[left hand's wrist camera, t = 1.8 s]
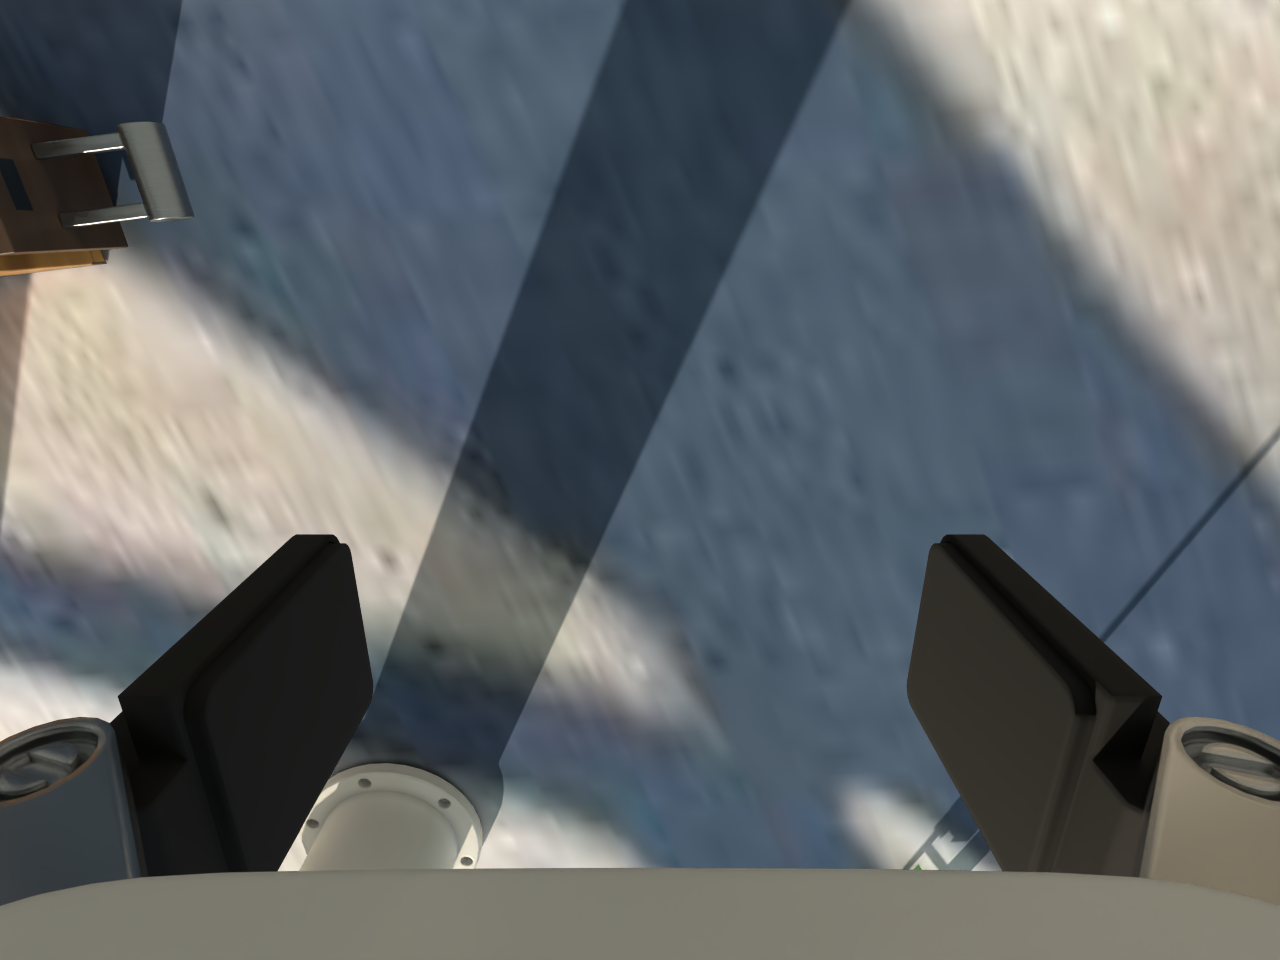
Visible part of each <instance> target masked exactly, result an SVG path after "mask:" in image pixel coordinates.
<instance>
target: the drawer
mask: <svg viewBox="0 0 1280 960" xmlns="http://www.w3.org/2000/svg"><path fill="white" fill-rule="evenodd" d="M117 129H118V131H119V132H116V133H109V134H101V135H94V136H88V134H87V132H86V130H81V129H75V128H69V127H62V126H56V125H50V124H44V123H38V122H32V121H25V120H19V119H13V118H7V117H1V116H0V256H5V255H23V254H40V253H58V252H76V251H94V250H109V249H117V248H125V247H128V244H127V241H126V239H125V236H124V233H123V230H122V228H121V225H120V222H121V221H129V220H137V219H145V218H149V220H150V221H151V222H162V221H175V220H184V219H191V218H194V217H195V216H194V213H193V210H192V207H191V204H190V201H189V198H188V195H187V192H186V188H185V185H184V182H183V179H182V176H181V173H180V170H179V167H178V164H177V161H176V158H175V155H174V152H173V149H172V146H171V142H170V139H169V136H168V133H167V130H166V127H165V125H164V124H163V123H159V122H150V121H138V122H126V123H121V124H119V125H117ZM118 150H125V151H126V154H127V157H128V160H129V163H130V166H131V169H132V172H133V174H134V177H135V180H136V183H137V186H138V189H139V192H140V194H141V197H142V200H143V203H137V204H129V205H121V206H113V203H112V200H111V197H110V195H109V192H108V189H107V186H106V184H105V181H104V178H103V175H102V173H101V170H100V167H99V164H98V162H97V159H96V156H95V153H103V152H110V151H118Z"/></svg>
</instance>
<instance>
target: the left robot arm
mask: <svg viewBox="0 0 1280 960" xmlns="http://www.w3.org/2000/svg"><path fill="white" fill-rule="evenodd" d="M372 694H373V679H372V673H371V667H370V662H369V656H368V650H367V644H366V638H365V632H364V626H363V620H362V614H361V609H360V603H359V597H358V591H357V585H356V579H355V573H354V567H353V562H352V556H351V551H350V548H349V546H348V545H347V544H346V543H340V542H339V540H338V539H337V537H336V536H334V535H295V536H293V537H292V538H291V539H289V540H288V541H287V542H286V543H285V544H284V545H283V546H282V547H281V548H280V549H278V550H277V551H276V552H275V553H274V554H273V555H272V556H271V557H270V558H269V559H268V560H266V561H265V562H264V563H263V564H262V565H261V566H260V567H259V568H258V569H257V570H255V571H254V572H253V573H252V574H251V575H250V576H249V577H248V578H247V579H246V580H245V581H243V582H242V583H241V584H240V585H239V586H238V587H237V588H236V589H235V590H234V591H232V592H231V593H230V594H229V595H228V596H227V597H226V598H225V599H224V600H223V601H222V602H220V603H219V604H218V605H217V606H216V607H215V608H214V609H213V610H212V611H211V612H210V613H208V614H207V615H206V616H205V617H204V618H203V619H202V620H201V621H200V622H199V623H197V624H196V625H195V626H194V627H193V628H192V629H191V630H190V631H189V632H188V633H187V634H185V635H184V636H183V637H182V638H181V639H180V640H179V641H178V642H177V643H176V644H174V645H173V646H172V647H171V648H170V649H169V650H168V651H167V652H166V653H165V654H164V655H162V656H161V657H160V658H159V659H158V660H157V661H156V662H155V663H154V664H153V665H152V666H150V667H149V668H148V669H147V670H146V671H145V672H144V673H143V674H142V675H141V676H139V677H138V678H137V679H136V680H135V681H134V682H133V683H132V684H131V685H130V686H129V687H127V688H126V689H125V690H124V691H123V692H122V693H121V694H120V695H119V696H118V699H119V702H120V705H121V708H122V712H121V713H120V714H119V715H118V716H117V717H116V718H115V719H114V720H113V721H112V722H111V723H108V722H106V721H103V720H101V719H99V718H88V717H76V718H69V719H62V720H56V721H53V722H49V723H46V724H42V725H38V726H35V727H32V728H30V729H27V730H25V731H22V732H20V733H18V734H15V735H13V736H10V737H8V738H6V739H4V740H3V741H1V742H0V960H1280V742H1279V741H1277V740H1276V739H1274V738H1272V737H1270V736H1267V735H1265V734H1262V733H1260V732H1258V731H1255V730H1253V729H1250V728H1248V727H1245V726H1242V725H1238V724H1234V723H1231V722H1227V721H1224V720H1218V719H1211V718H1204V717H1192V718H1181V719H1179V720H1177V721H1174V722H1172V723H1169V722H1168V721H1167V720H1166V719H1165V718H1164V717H1163V716H1162V715H1161V714H1160V713H1159V712H1158V711H1157V710H1158V708H1159V705H1160V702H1161V699H1162V696H1161V695H1160V694H1159V693H1158V692H1157V691H1156V690H1155V689H1154V688H1153V687H1151V686H1150V685H1149V684H1148V683H1147V682H1146V681H1145V680H1144V679H1143V678H1142V677H1141V676H1139V675H1138V674H1137V673H1136V672H1135V671H1134V670H1133V669H1132V668H1131V667H1130V666H1128V665H1127V664H1126V663H1125V662H1124V661H1123V660H1122V659H1121V658H1120V657H1119V656H1118V655H1116V654H1115V653H1114V652H1113V651H1112V650H1111V649H1110V648H1109V647H1108V646H1107V645H1106V644H1104V643H1103V642H1102V641H1101V640H1100V639H1099V638H1098V637H1097V636H1096V635H1095V634H1093V633H1092V632H1091V631H1090V630H1089V629H1088V628H1087V627H1086V626H1085V625H1084V624H1083V623H1081V622H1080V621H1079V620H1078V619H1077V618H1076V617H1075V616H1074V615H1073V614H1072V613H1070V612H1069V611H1068V610H1067V609H1066V608H1065V607H1064V606H1063V605H1062V604H1061V603H1060V602H1058V601H1057V600H1056V599H1055V598H1054V597H1053V596H1052V595H1051V594H1050V593H1049V592H1048V591H1046V590H1045V589H1044V588H1043V587H1042V586H1041V585H1040V584H1039V583H1038V582H1037V581H1035V580H1034V579H1033V578H1032V577H1031V576H1030V575H1029V574H1028V573H1027V572H1026V571H1025V570H1023V569H1022V568H1021V567H1020V566H1019V565H1018V564H1017V563H1016V562H1015V561H1014V560H1012V559H1011V558H1010V557H1009V556H1008V555H1007V554H1006V553H1005V552H1004V551H1003V550H1002V549H1000V548H999V547H998V546H997V545H996V544H995V543H994V542H993V541H992V540H991V539H989V538H988V537H987V536H985V535H946V536H944V537H943V539H942V540H941V542H940V543H934V544H933V545H932V546H931V548H930V551H929V556H928V562H927V567H926V573H925V579H924V585H923V591H922V597H921V603H920V609H919V614H918V620H917V626H916V632H915V638H914V644H913V650H912V656H911V662H910V667H909V673H908V679H907V694H908V699H909V703H910V705H911V707H912V709H913V711H914V713H915V715H916V716H917V718H918V720H919V722H920V724H921V725H922V727H923V729H924V731H925V733H926V734H927V736H928V738H929V740H930V742H931V743H932V745H933V747H934V749H935V751H936V752H937V754H938V756H939V758H940V760H941V761H942V763H943V765H944V767H945V769H946V770H947V772H948V774H949V776H950V778H951V779H952V781H953V783H954V785H955V787H956V788H957V790H958V792H959V794H960V796H961V797H962V799H963V801H964V803H965V805H966V806H967V808H968V810H969V812H970V813H971V815H972V817H973V819H974V821H975V822H976V824H977V826H978V828H979V830H980V831H981V833H982V835H983V837H984V839H985V840H986V842H987V844H988V846H989V848H990V849H991V851H992V853H993V855H994V857H995V858H996V860H997V862H998V864H999V866H1000V867H1001V869H1002V871H1003V872H1000V871H950V870H899V869H757V868H523V869H475V867H476V865H477V863H478V860H479V857H480V852H481V848H482V841H483V831H482V827H481V823H480V819H479V817H478V815H477V813H476V811H475V809H474V807H473V806H472V805H471V803H470V802H469V801H468V799H467V798H466V797H465V796H464V795H463V794H462V793H461V792H460V791H459V790H457V789H456V788H455V787H454V786H453V785H452V784H450V783H448V782H447V781H445V780H443V779H442V778H440V777H438V776H436V775H434V774H432V773H429V772H427V771H425V770H422V769H418V768H415V767H411V766H407V765H400V764H391V763H379V764H367V765H362V766H357V767H353V768H350V769H347V770H345V771H342V772H340V773H338V774H336V775H335V776H333V777H331V778H330V776H331V774H332V772H333V770H334V769H335V767H336V765H337V763H338V761H339V760H340V758H341V756H342V754H343V752H344V751H345V749H346V747H347V745H348V743H349V742H350V740H351V738H352V736H353V734H354V733H355V731H356V729H357V727H358V725H359V724H360V722H361V720H362V718H363V716H364V715H365V713H366V711H367V709H368V707H369V705H370V703H371V699H372ZM329 778H330V779H329ZM300 830H301V837H302V843H303V846H304V848H305V851H306V854H307V857H306V859H305V861H304V863H303V865H302V867H301V868H300V870H299V871H280V872H277V871H278V869H279V867H280V866H281V864H282V862H283V860H284V858H285V857H286V855H287V853H288V851H289V849H290V848H291V846H292V844H293V842H294V840H295V839H296V837H297V835H298V833H299V831H300Z"/></svg>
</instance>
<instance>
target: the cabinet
mask: <svg viewBox="0 0 1280 960" xmlns="http://www.w3.org/2000/svg"><path fill="white" fill-rule="evenodd" d="M1 117H4V116H1ZM7 118H10V117H7ZM13 119H16V118H13ZM19 120H23V119H19ZM25 121H29V120H25ZM32 122H35V121H32ZM36 122H38V123H44V124H50V125H54V124H51V123H45V122H39V121H36ZM100 264H107V263H106V261H105V260H104V258H103V255H102V252H101V250H94V251H76V252H58V253H40V254H23V255H5V256H0V277H4V276H12V275H20V274H28V273H36V272H44V271H52V270H60V269H68V268H76V267H84V266H92V265H100Z"/></svg>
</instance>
